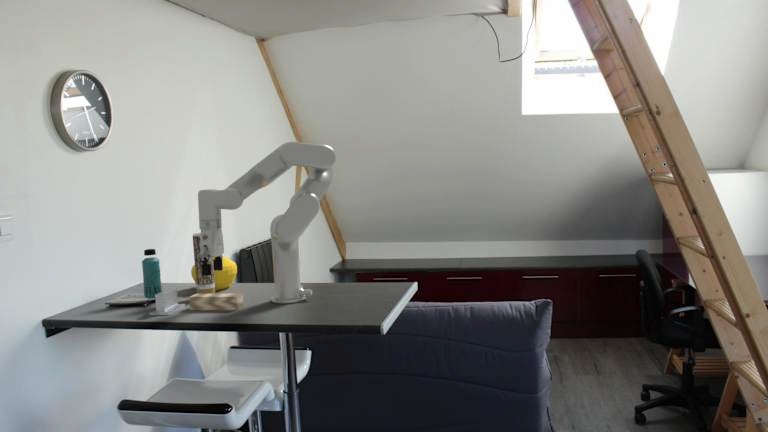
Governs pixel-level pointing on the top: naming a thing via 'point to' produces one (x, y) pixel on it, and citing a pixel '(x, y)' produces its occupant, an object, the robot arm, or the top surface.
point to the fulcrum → (167, 302)
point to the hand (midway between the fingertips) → (212, 272)
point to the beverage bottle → (151, 275)
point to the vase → (222, 274)
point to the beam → (216, 301)
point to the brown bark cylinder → (203, 282)
